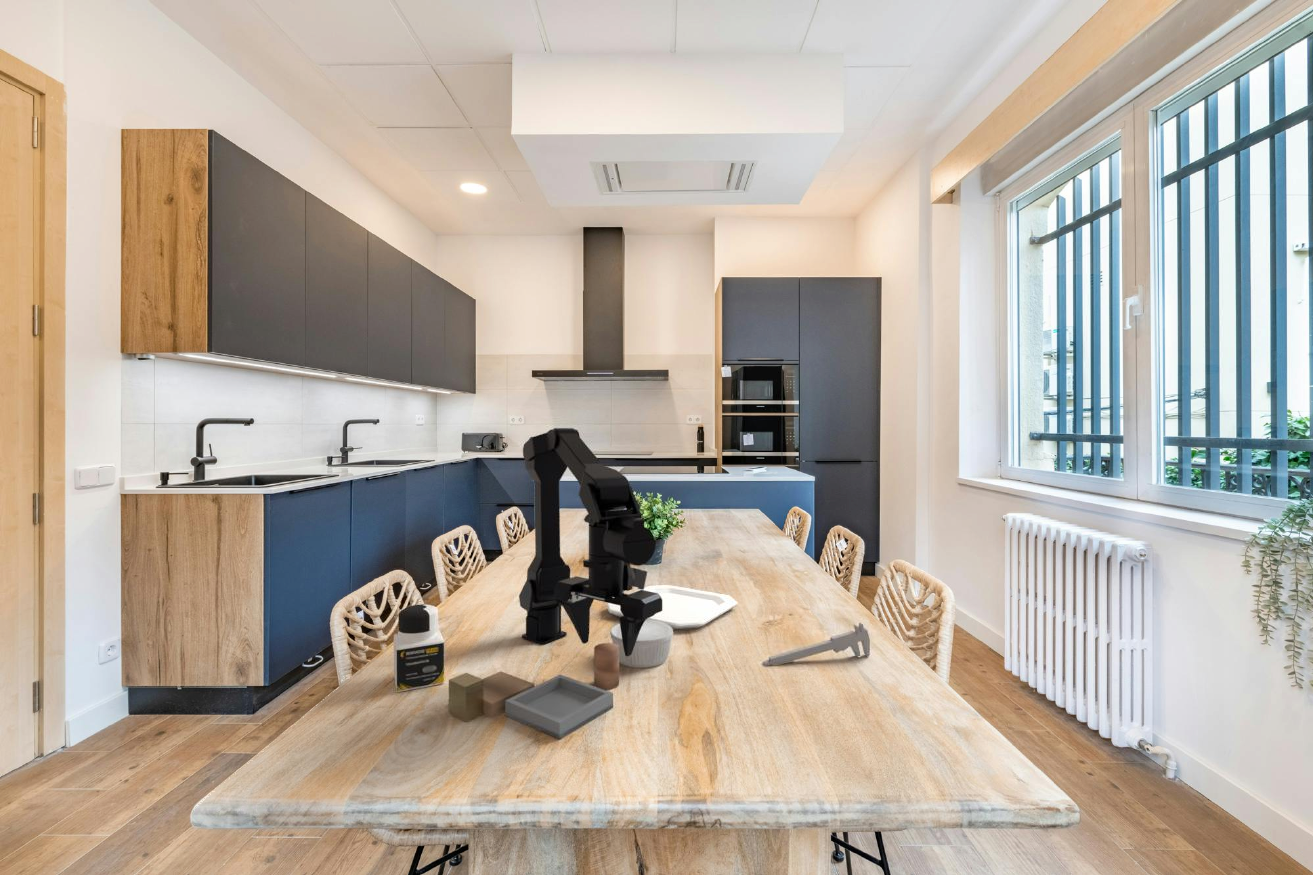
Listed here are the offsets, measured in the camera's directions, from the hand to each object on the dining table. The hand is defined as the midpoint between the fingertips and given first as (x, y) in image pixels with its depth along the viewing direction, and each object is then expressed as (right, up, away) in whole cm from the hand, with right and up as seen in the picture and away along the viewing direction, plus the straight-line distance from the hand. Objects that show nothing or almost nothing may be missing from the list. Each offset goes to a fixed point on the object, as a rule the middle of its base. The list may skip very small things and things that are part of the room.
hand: (606, 649), depth 95 cm
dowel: (0, -6, 0) cm, 6 cm away
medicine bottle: (-31, -6, +1) cm, 32 cm away
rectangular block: (-19, -6, -10) cm, 23 cm away
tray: (-6, -6, -9) cm, 12 cm away
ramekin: (+6, -6, +11) cm, 14 cm away
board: (-16, -6, -5) cm, 18 cm away
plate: (+12, -6, +38) cm, 41 cm away
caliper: (+37, -6, +10) cm, 39 cm away
